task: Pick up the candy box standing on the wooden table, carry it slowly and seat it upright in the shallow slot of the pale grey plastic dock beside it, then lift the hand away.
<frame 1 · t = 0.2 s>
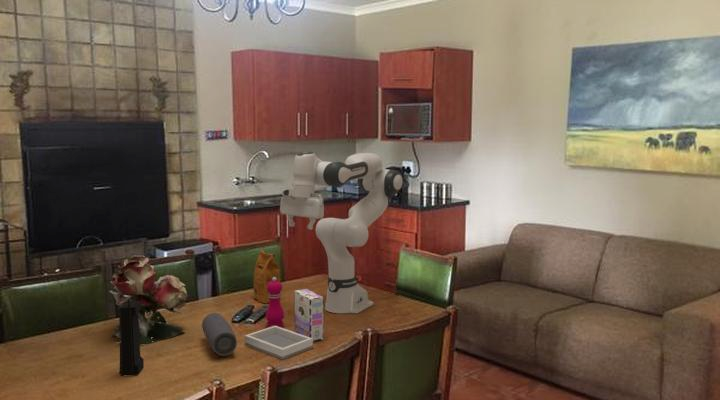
hand: (300, 227, 241), 39 cm above the table, tool pointing down, fingers open, 8 cm apart
candy box: (308, 336, 232), on the table
coffee package: (266, 300, 276), on the table
rose bouquet: (146, 332, 235), on the table
slot dock: (278, 346, 220), on the table
portable radio: (132, 371, 199), on the table
pepper mill: (275, 327, 241), on the table
bluetooth speaker: (219, 348, 219), on the table
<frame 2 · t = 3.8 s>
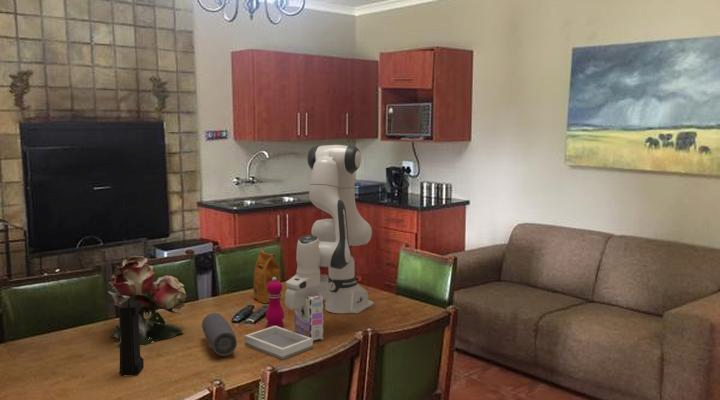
hand: (308, 315, 230), 8 cm above the table, tool pointing down, fingers closed on candy box, 7 cm apart
candy box: (308, 335, 232), on the table, touching gripper
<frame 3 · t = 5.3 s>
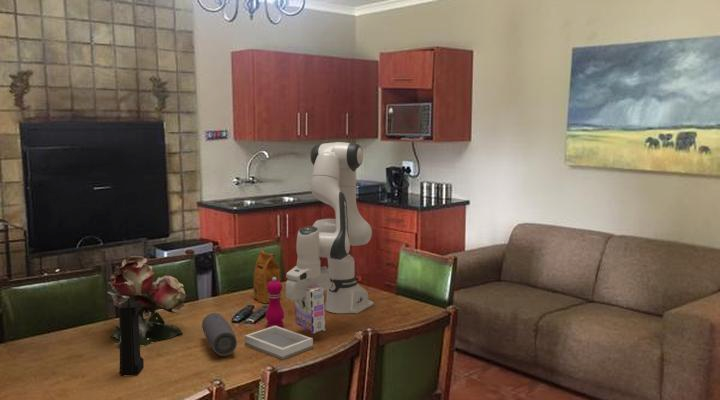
hand: (309, 306, 230), 11 cm above the table, tool pointing down, fingers closed on candy box, 6 cm apart
candy box: (310, 327, 232), point 3 cm above the table, touching gripper
everything else where it was.
when the fingers open (16 cm above the table, at t = 7.2 s): candy box drops 2 cm, resting on slot dock.
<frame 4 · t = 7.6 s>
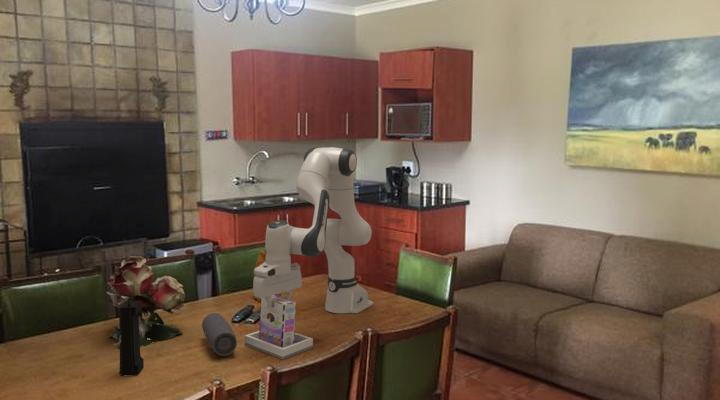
hand: (278, 304, 218), 15 cm above the table, tool pointing down, fingers open, 6 cm apart
candy box: (276, 344, 219), point 1 cm above the table, touching gripper, slot dock
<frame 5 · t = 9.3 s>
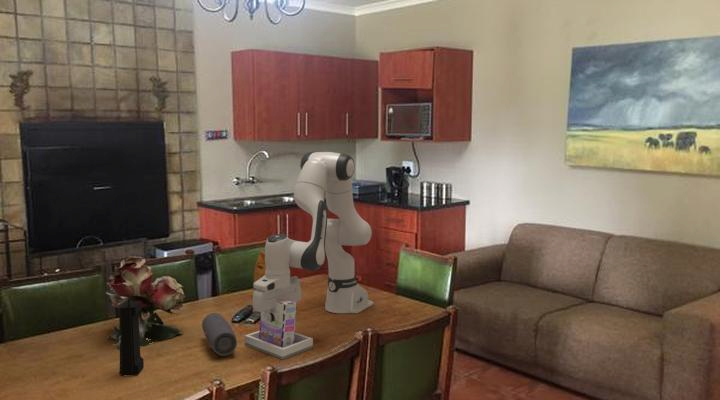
hand: (278, 318, 219), 11 cm above the table, tool pointing down, fingers open, 6 cm apart
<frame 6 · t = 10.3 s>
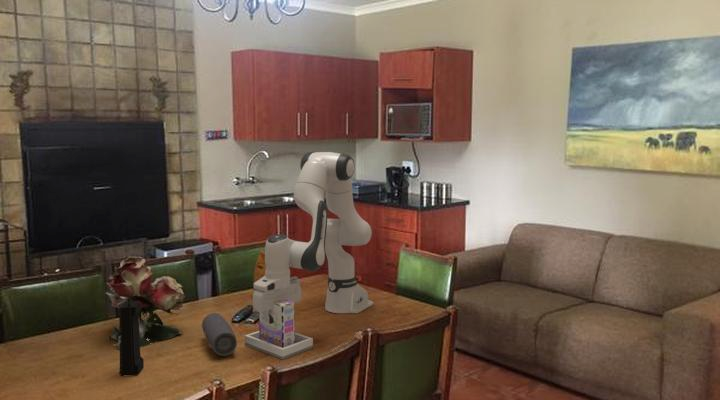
hand: (278, 318, 219), 10 cm above the table, tool pointing down, fingers open, 8 cm apart
candy box: (276, 344, 220), point 1 cm above the table, touching slot dock
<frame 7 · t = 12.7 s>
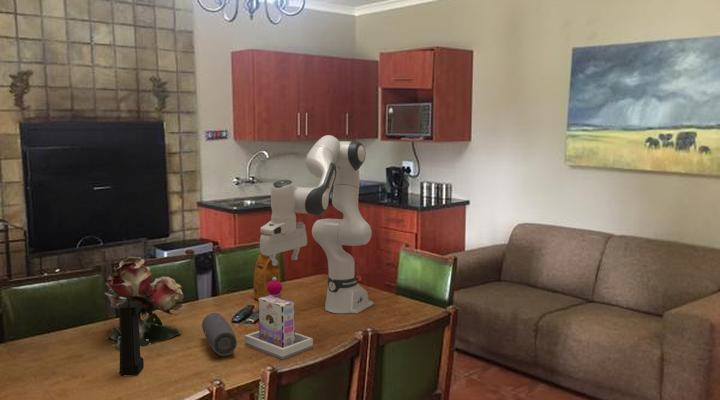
hand: (284, 262, 224), 29 cm above the table, tool pointing down, fingers open, 8 cm apart
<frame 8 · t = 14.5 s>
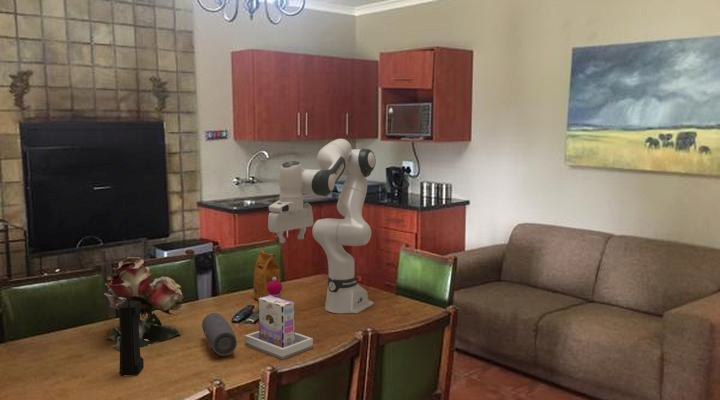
hand: (291, 240, 233), 35 cm above the table, tool pointing down, fingers open, 8 cm apart
at the end: candy box inside the target area on the slot dock (0.9 cm from its centre), point 0.8 cm above the slot dock's base; candy box tilted 0°; the gripper is holding nothing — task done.
